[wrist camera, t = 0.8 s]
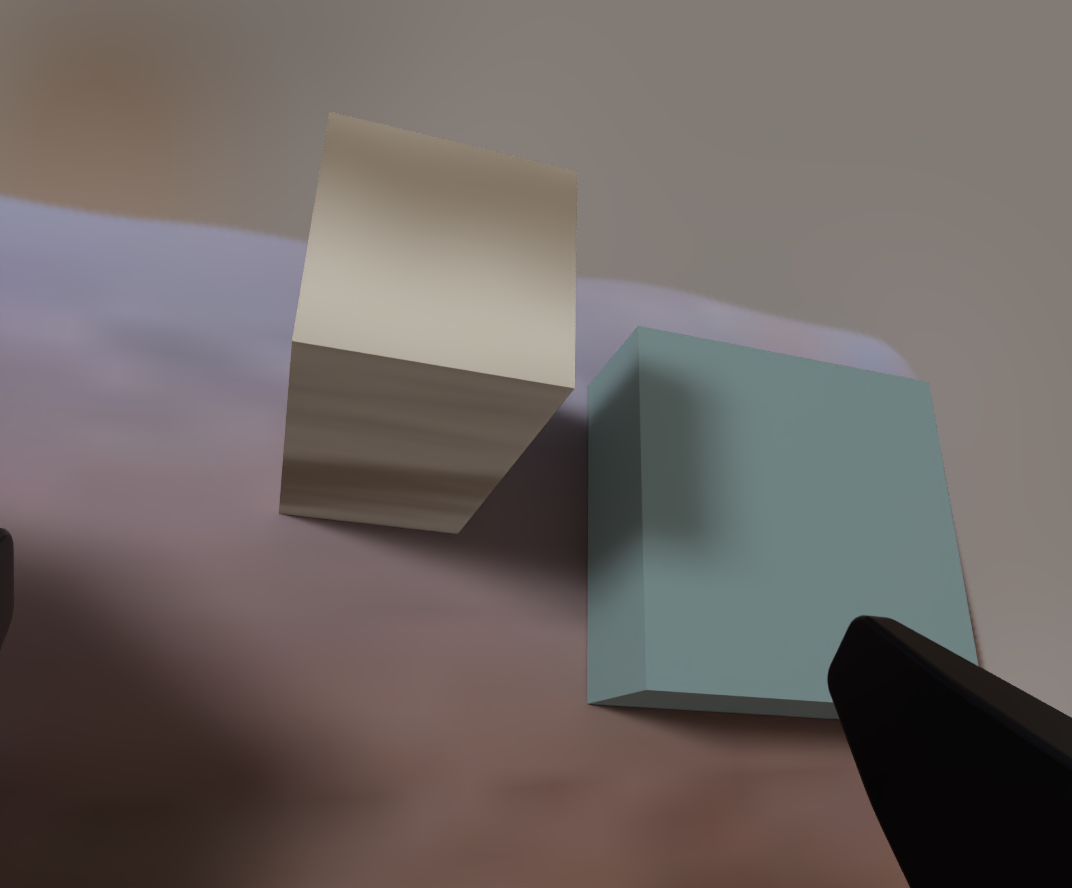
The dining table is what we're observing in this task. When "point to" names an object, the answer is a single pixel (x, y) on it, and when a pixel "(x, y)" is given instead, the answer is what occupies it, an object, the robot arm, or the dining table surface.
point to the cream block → (425, 326)
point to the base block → (757, 524)
